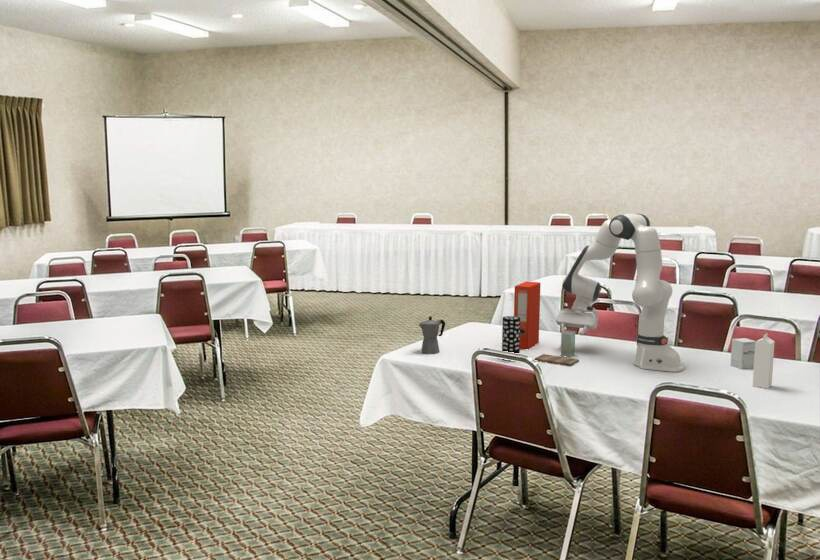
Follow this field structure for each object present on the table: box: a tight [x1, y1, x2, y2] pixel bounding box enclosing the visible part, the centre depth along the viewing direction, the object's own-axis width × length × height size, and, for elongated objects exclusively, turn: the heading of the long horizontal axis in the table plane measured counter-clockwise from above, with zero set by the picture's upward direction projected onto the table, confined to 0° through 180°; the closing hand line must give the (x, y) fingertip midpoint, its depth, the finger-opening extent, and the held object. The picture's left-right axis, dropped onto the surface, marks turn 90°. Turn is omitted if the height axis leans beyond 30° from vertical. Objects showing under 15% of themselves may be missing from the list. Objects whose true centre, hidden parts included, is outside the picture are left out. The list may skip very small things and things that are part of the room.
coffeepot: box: [418, 316, 446, 355], centre depth 365 cm, size 15×9×18 cm, turn 121°
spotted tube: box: [501, 315, 521, 362], centre depth 350 cm, size 8×8×20 cm
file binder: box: [513, 281, 541, 350], centre depth 376 cm, size 8×17×32 cm, turn 152°
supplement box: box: [730, 337, 757, 370], centre depth 334 cm, size 7×7×13 cm
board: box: [534, 353, 580, 367], centre depth 346 cm, size 18×10×1 cm, turn 55°
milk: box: [752, 332, 776, 389], centre depth 303 cm, size 6×6×22 cm
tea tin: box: [560, 329, 577, 358], centre depth 356 cm, size 5×5×12 cm
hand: (571, 333), depth 359 cm, fingers open, 8 cm apart
